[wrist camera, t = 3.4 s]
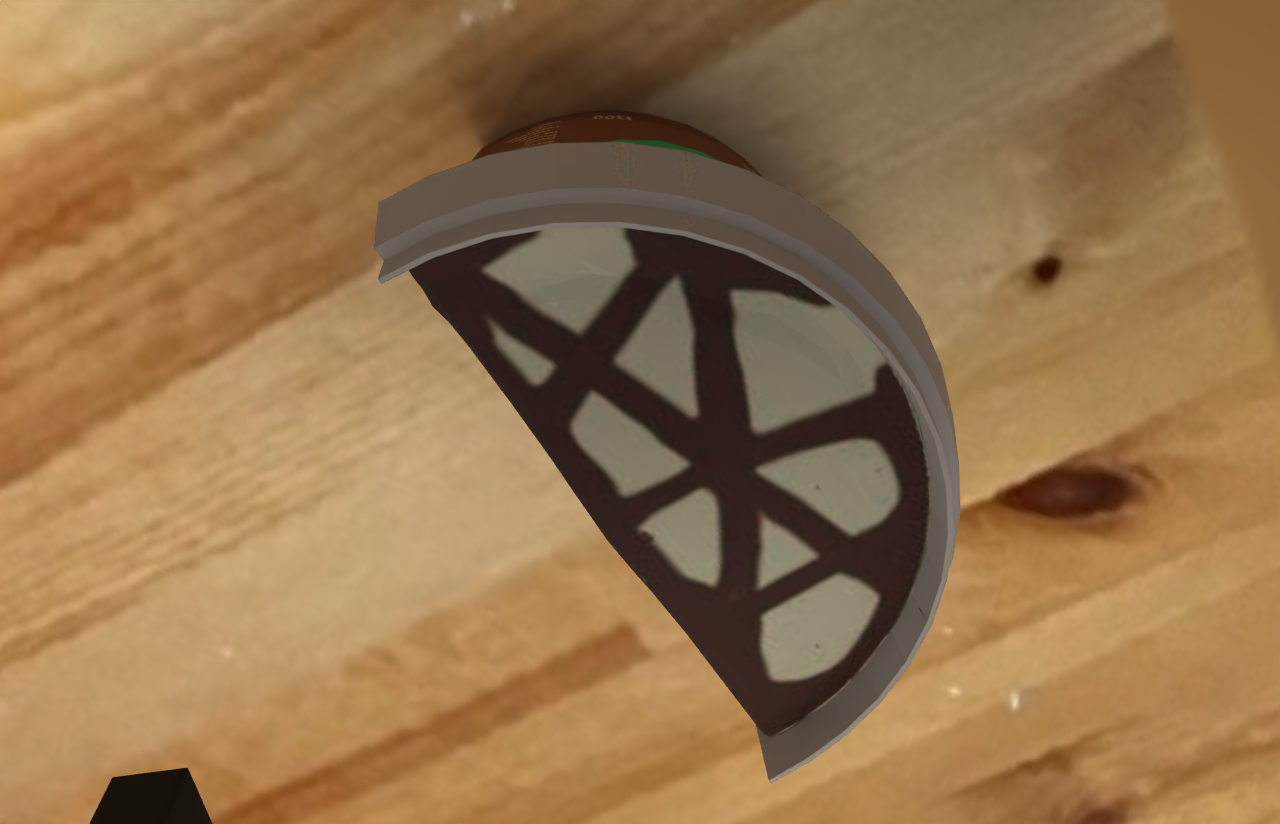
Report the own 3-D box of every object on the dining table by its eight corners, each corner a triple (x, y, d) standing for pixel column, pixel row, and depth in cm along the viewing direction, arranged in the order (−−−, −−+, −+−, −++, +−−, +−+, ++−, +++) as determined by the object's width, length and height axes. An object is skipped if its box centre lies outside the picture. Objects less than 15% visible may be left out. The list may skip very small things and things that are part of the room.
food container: (945, 387, 28) (1107, 653, 19) (728, 503, 29) (785, 802, 20) (690, -77, 23) (750, -7, 14) (441, 89, 24) (352, 248, 15)
